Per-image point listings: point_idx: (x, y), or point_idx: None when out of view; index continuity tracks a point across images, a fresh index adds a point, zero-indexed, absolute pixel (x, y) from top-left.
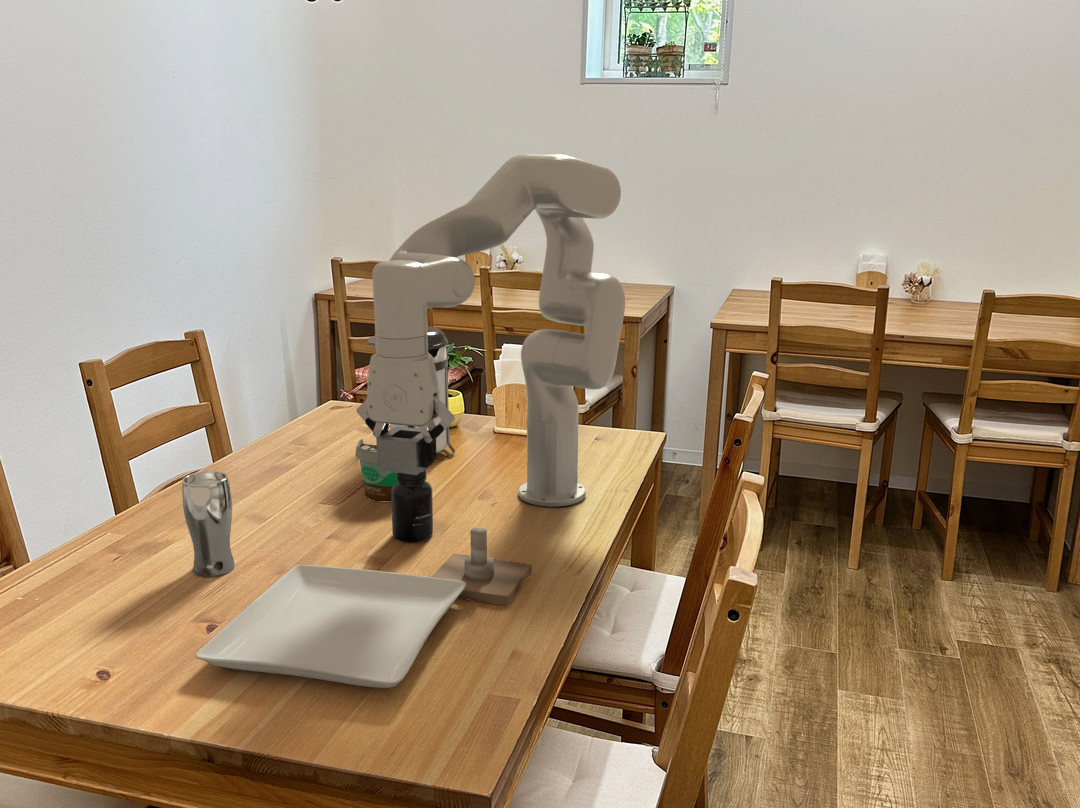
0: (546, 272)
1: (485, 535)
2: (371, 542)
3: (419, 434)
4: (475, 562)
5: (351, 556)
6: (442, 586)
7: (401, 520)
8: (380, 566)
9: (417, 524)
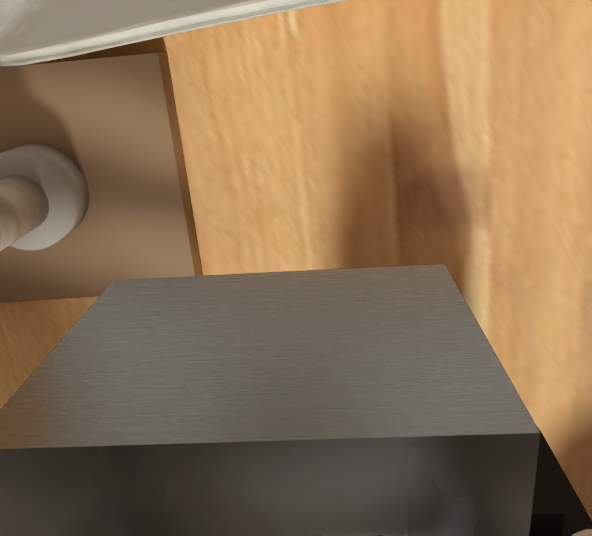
0: None
1: None
2: (513, 308)
3: None
4: (11, 177)
5: (530, 198)
6: (62, 25)
7: None
8: (401, 169)
9: None
